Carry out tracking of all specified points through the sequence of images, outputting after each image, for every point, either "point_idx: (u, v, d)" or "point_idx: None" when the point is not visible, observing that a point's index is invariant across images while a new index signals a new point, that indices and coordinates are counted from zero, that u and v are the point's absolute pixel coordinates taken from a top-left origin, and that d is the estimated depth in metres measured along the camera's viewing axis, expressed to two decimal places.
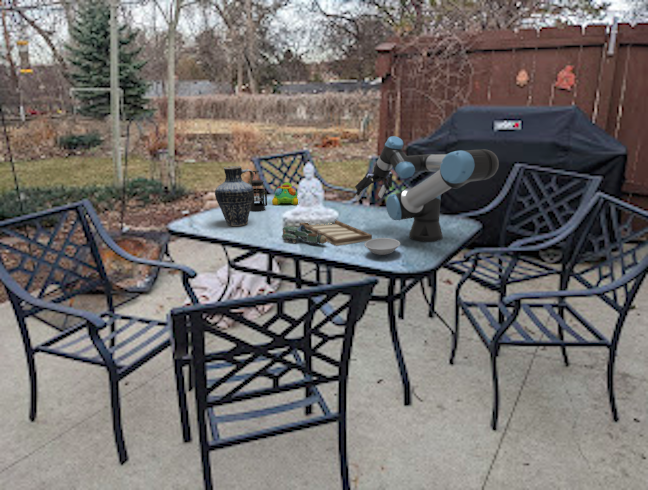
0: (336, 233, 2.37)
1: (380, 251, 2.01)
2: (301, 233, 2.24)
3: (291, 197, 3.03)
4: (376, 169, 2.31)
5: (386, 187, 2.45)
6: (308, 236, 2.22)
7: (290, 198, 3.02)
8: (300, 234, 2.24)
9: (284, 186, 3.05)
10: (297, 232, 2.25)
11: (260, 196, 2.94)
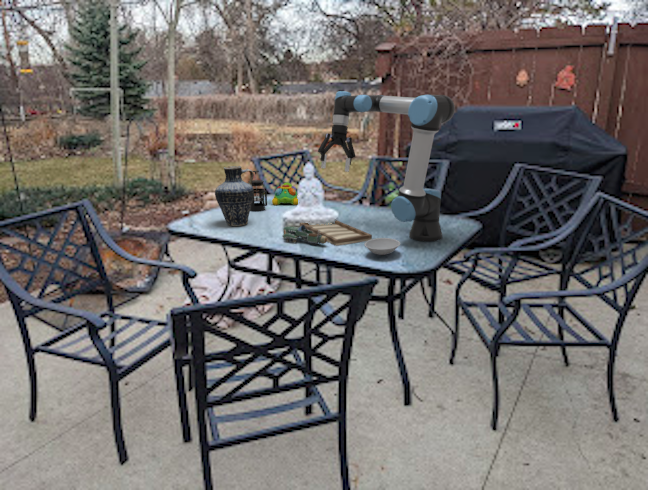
0: (336, 233, 2.37)
1: (380, 251, 2.01)
2: (301, 233, 2.24)
3: (291, 197, 3.02)
4: (333, 127, 2.35)
5: (350, 156, 2.42)
6: (308, 236, 2.22)
7: (290, 198, 3.02)
8: (300, 234, 2.24)
9: (284, 186, 3.05)
10: (297, 232, 2.25)
11: (260, 196, 2.94)
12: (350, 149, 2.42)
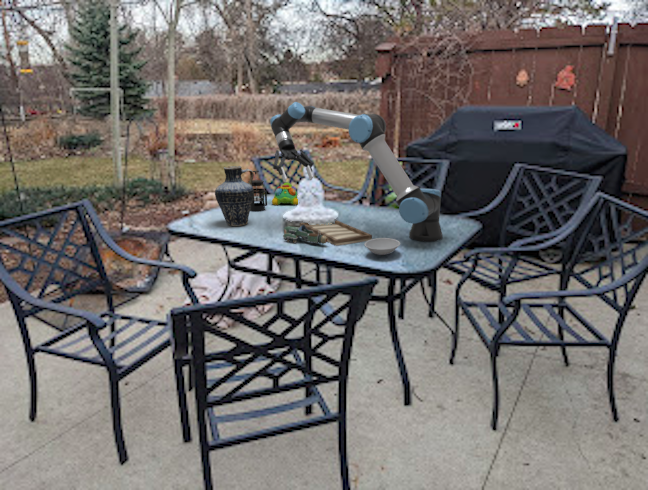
0: (336, 233, 2.37)
1: (380, 251, 2.01)
2: (302, 233, 2.24)
3: (291, 197, 3.02)
4: (279, 145, 2.38)
5: (307, 164, 2.37)
6: (309, 236, 2.23)
7: (290, 198, 3.02)
8: (301, 234, 2.24)
9: (284, 186, 3.05)
10: (298, 232, 2.25)
11: (260, 196, 2.94)
12: (306, 159, 2.39)
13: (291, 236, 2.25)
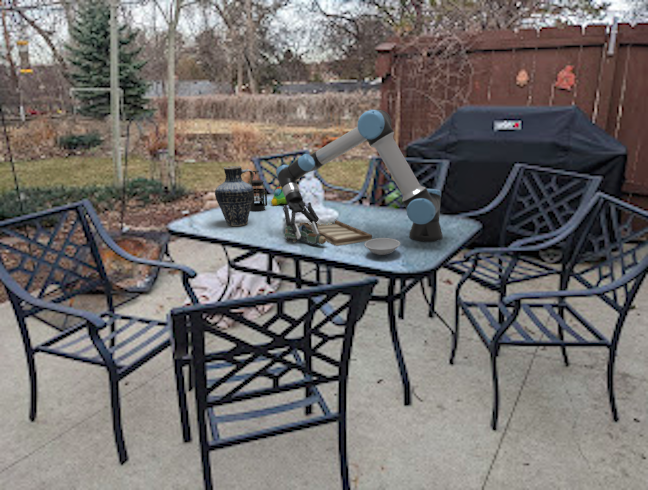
0: (336, 233, 2.37)
1: (380, 251, 2.01)
2: (301, 233, 2.23)
3: None
4: (286, 198, 2.29)
5: (312, 219, 2.27)
6: (308, 236, 2.22)
7: None
8: None
9: None
10: None
11: (260, 196, 2.94)
12: (312, 213, 2.29)
13: (291, 236, 2.25)
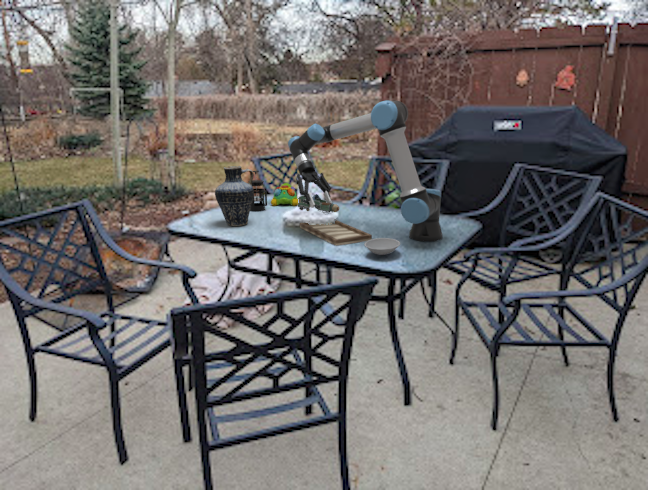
0: (336, 233, 2.37)
1: (380, 251, 2.01)
2: (315, 202, 2.27)
3: (290, 198, 3.00)
4: (299, 168, 2.33)
5: (325, 189, 2.31)
6: (321, 205, 2.26)
7: (289, 199, 3.00)
8: None
9: (283, 187, 3.03)
10: None
11: (260, 196, 2.94)
12: (324, 183, 2.33)
13: (304, 205, 2.29)
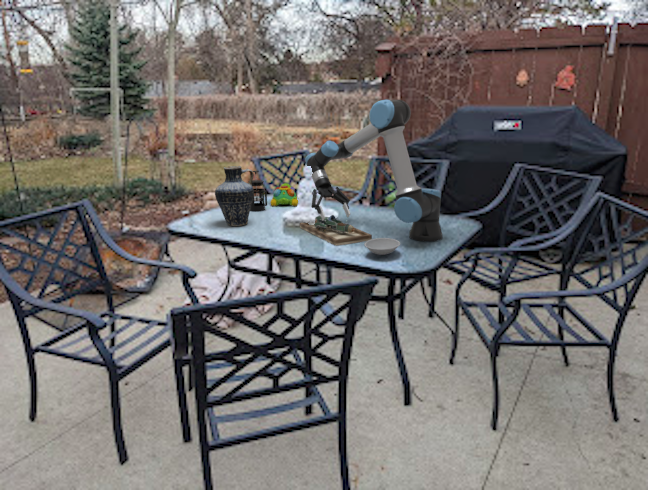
0: (336, 233, 2.37)
1: (380, 251, 2.01)
2: (331, 222, 2.37)
3: (290, 198, 2.99)
4: (316, 184, 2.42)
5: (344, 201, 2.42)
6: (337, 225, 2.36)
7: (289, 199, 2.99)
8: (330, 223, 2.38)
9: (283, 187, 3.02)
10: (327, 221, 2.39)
11: (260, 196, 2.94)
12: (342, 196, 2.44)
13: (321, 225, 2.39)
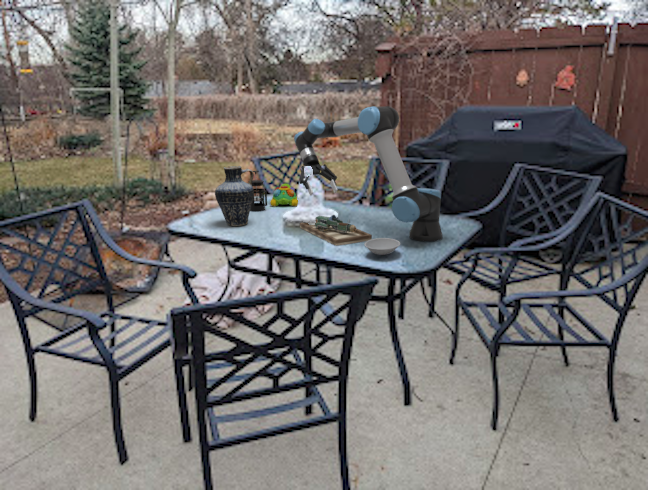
0: (336, 233, 2.37)
1: (380, 251, 2.01)
2: (332, 222, 2.38)
3: (289, 198, 2.99)
4: (304, 161, 2.50)
5: (331, 178, 2.49)
6: (338, 225, 2.36)
7: (288, 199, 2.98)
8: (331, 223, 2.38)
9: (282, 187, 3.01)
10: (328, 221, 2.39)
11: (260, 196, 2.94)
12: (329, 173, 2.52)
13: (322, 225, 2.39)
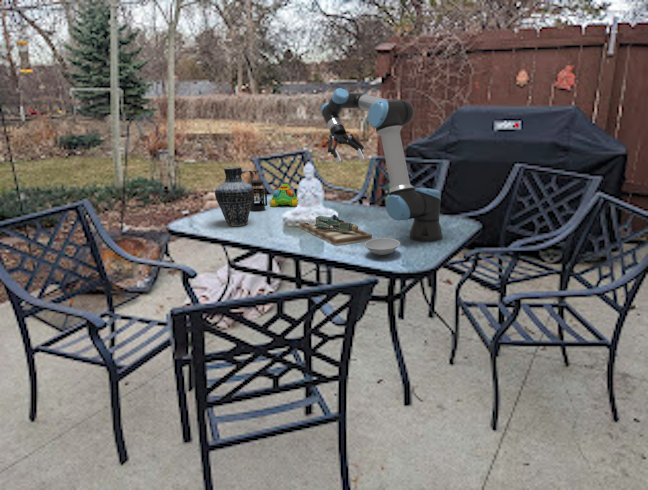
0: (336, 233, 2.37)
1: (380, 251, 2.01)
2: (333, 222, 2.38)
3: (289, 199, 2.98)
4: (331, 131, 2.54)
5: (358, 147, 2.53)
6: (340, 225, 2.37)
7: (288, 200, 2.98)
8: (332, 223, 2.39)
9: (282, 187, 3.01)
10: (329, 221, 2.39)
11: (260, 196, 2.94)
12: (356, 143, 2.55)
13: (323, 225, 2.39)
